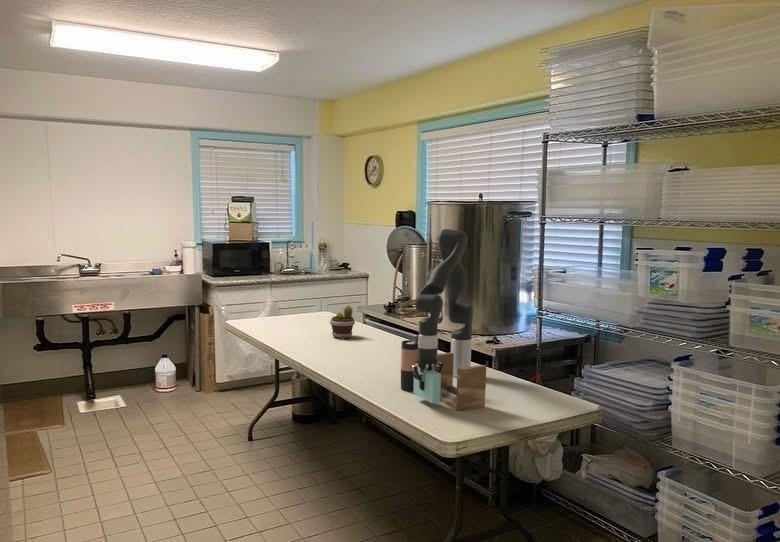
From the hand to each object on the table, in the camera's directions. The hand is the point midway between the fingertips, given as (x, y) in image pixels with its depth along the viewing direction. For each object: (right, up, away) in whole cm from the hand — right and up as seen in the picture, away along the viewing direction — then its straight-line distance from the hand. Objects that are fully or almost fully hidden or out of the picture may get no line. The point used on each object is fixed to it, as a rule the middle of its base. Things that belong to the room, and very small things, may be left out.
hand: (426, 389), depth 227 cm
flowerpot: (-42, +6, +119) cm, 126 cm away
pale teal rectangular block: (0, -3, 0) cm, 3 cm away
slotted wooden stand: (+11, -6, +6) cm, 14 cm away
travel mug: (-6, -4, +20) cm, 21 cm away
